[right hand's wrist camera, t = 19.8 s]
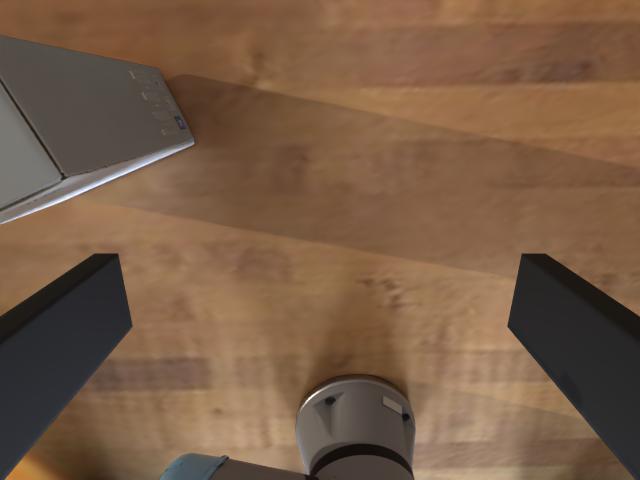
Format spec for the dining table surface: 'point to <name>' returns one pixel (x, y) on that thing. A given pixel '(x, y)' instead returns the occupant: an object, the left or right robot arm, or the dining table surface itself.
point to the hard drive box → (77, 123)
